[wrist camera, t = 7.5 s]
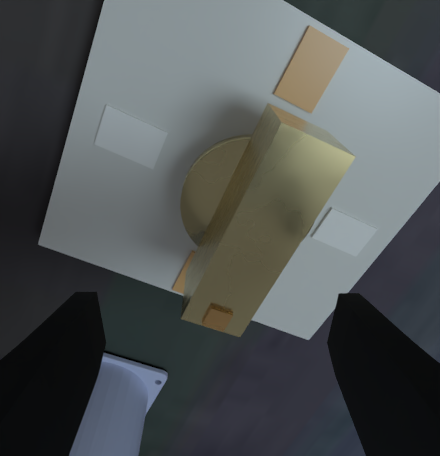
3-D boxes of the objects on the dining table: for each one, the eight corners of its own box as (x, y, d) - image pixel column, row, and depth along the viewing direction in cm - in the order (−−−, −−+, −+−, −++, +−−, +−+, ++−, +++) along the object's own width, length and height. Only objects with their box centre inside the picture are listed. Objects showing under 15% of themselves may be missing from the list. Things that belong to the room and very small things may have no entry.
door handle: (355, 142, 16) (402, 179, 12) (263, 288, 20) (276, 351, 16) (225, 80, 15) (230, 99, 11) (154, 250, 19) (139, 309, 15)
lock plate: (304, 327, 25) (313, 354, 23) (46, 233, 21) (28, 256, 19) (472, 116, 18) (506, 128, 16) (135, -83, 14) (121, -102, 12)
